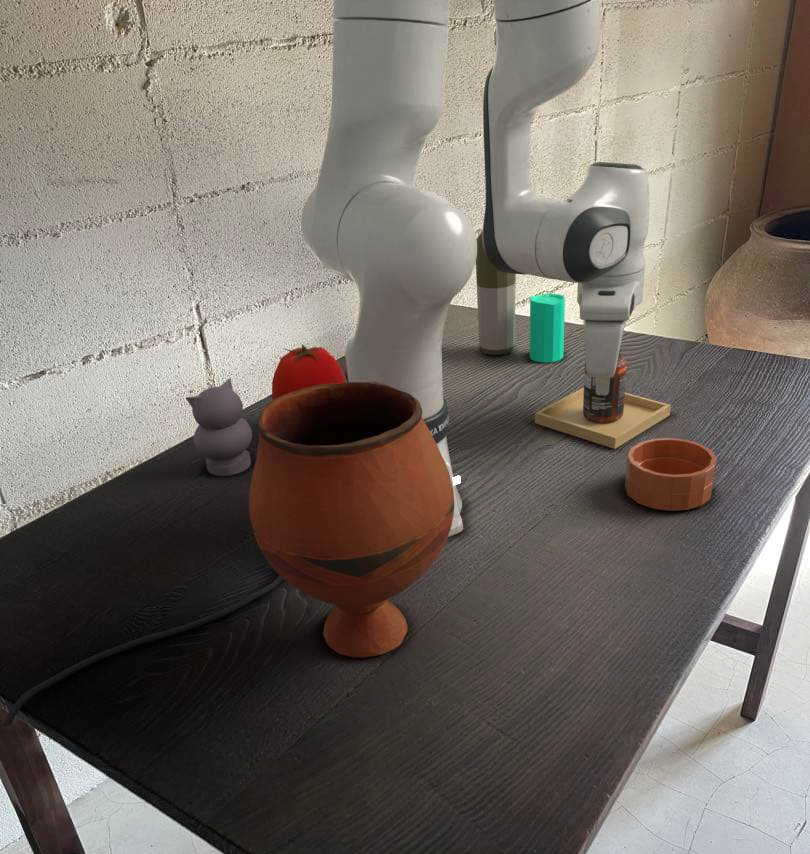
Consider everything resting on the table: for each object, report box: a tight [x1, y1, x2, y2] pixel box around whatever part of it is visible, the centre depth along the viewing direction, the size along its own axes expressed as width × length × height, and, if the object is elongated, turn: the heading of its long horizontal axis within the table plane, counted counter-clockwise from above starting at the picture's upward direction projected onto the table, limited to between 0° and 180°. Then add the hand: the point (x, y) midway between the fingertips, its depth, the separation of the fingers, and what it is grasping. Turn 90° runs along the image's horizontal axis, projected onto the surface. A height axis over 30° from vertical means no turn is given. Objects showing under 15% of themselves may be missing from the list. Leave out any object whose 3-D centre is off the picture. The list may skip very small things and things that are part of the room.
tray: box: [534, 387, 672, 450], centre depth 123 cm, size 14×14×2 cm
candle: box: [529, 288, 566, 363], centre depth 144 cm, size 6×6×12 cm
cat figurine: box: [185, 378, 253, 477], centre depth 117 cm, size 9×8×12 cm
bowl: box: [624, 437, 718, 512], centre depth 103 cm, size 10×10×5 cm
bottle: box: [475, 231, 517, 356], centre depth 143 cm, size 7×7×30 cm
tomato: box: [271, 343, 346, 401], centre depth 125 cm, size 12×12×13 cm
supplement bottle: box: [583, 344, 627, 423], centre depth 121 cm, size 6×6×11 cm
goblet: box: [248, 381, 454, 659], centre depth 79 cm, size 19×19×25 cm
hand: (604, 383), depth 121 cm, fingers closed on supplement bottle, 6 cm apart
